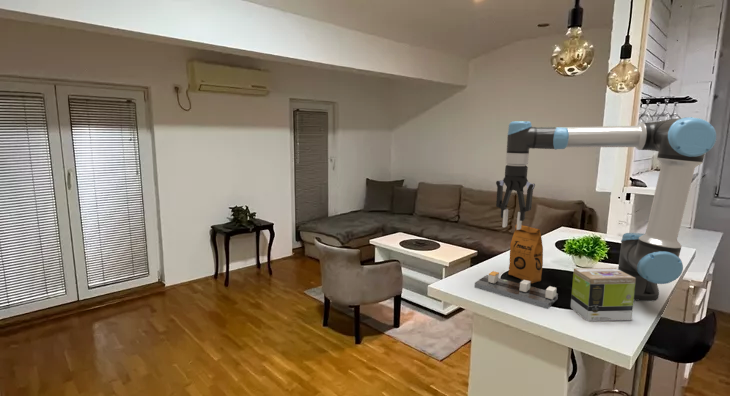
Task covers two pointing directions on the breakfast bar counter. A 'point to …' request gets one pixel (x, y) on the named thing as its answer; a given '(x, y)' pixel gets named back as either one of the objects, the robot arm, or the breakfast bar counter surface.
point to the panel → (516, 291)
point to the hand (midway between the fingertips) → (511, 227)
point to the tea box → (602, 294)
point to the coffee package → (526, 254)
